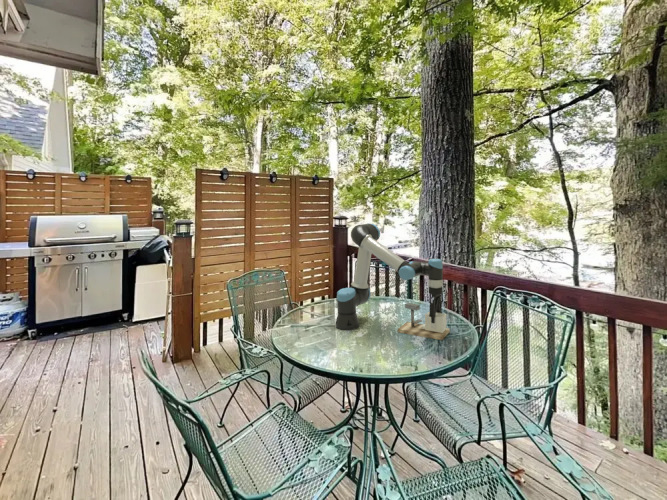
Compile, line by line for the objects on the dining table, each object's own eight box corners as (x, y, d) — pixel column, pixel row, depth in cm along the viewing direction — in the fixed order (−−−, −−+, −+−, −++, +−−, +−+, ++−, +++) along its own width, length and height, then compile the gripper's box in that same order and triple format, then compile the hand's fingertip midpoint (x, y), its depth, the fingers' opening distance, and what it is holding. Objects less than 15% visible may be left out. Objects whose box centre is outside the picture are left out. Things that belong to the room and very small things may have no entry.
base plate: (397, 332, 198) (397, 328, 198) (407, 325, 210) (406, 321, 210) (442, 340, 184) (442, 336, 183) (449, 332, 195) (449, 328, 195)
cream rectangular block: (420, 329, 194) (419, 313, 193) (424, 325, 200) (424, 310, 198) (442, 332, 186) (442, 317, 185) (446, 329, 192) (446, 313, 191)
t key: (416, 328, 196) (416, 306, 194) (405, 325, 202) (404, 303, 200) (426, 324, 202) (426, 302, 201) (415, 321, 208) (414, 300, 207)
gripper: (436, 291, 179) (436, 332, 182) (447, 283, 195) (447, 321, 198) (422, 289, 183) (423, 330, 186) (434, 282, 199) (434, 320, 202)
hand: (435, 325), depth 192 cm, fingers closed on cream rectangular block, 7 cm apart
